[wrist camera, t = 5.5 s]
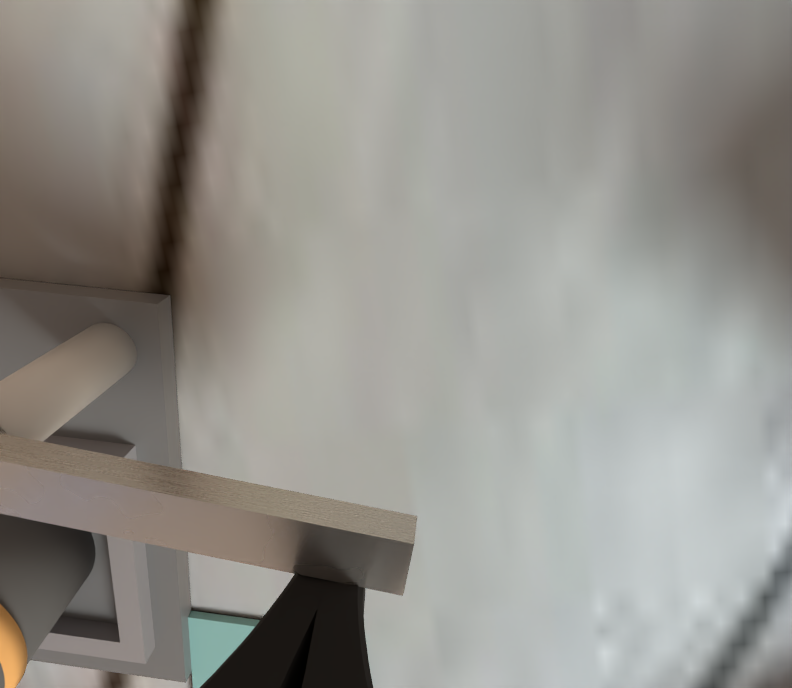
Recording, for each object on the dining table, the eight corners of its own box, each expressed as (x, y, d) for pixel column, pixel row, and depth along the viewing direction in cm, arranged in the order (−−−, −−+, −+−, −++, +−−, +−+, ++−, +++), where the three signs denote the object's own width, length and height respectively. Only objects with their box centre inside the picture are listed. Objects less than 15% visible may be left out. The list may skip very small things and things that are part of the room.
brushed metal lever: (-74, 480, 13) (-116, 510, 12) (-87, 395, 12) (-133, 420, 11) (403, 577, 12) (398, 615, 12) (421, 495, 12) (417, 529, 11)
